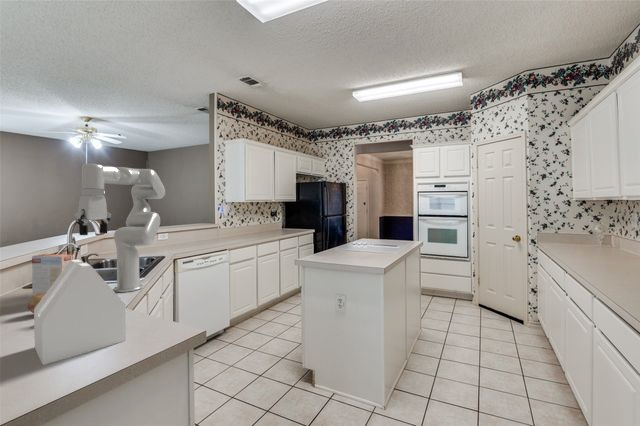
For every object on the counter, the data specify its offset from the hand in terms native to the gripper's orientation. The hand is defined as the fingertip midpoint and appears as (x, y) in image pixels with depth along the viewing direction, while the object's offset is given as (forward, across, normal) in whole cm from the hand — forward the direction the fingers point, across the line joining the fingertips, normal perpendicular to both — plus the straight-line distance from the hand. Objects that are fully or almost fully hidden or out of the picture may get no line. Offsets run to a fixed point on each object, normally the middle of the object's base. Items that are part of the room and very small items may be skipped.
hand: (94, 234), depth 128 cm
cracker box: (+31, -1, -21) cm, 37 cm away
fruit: (+31, +12, -11) cm, 35 cm away
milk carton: (+31, +33, +27) cm, 53 cm away
